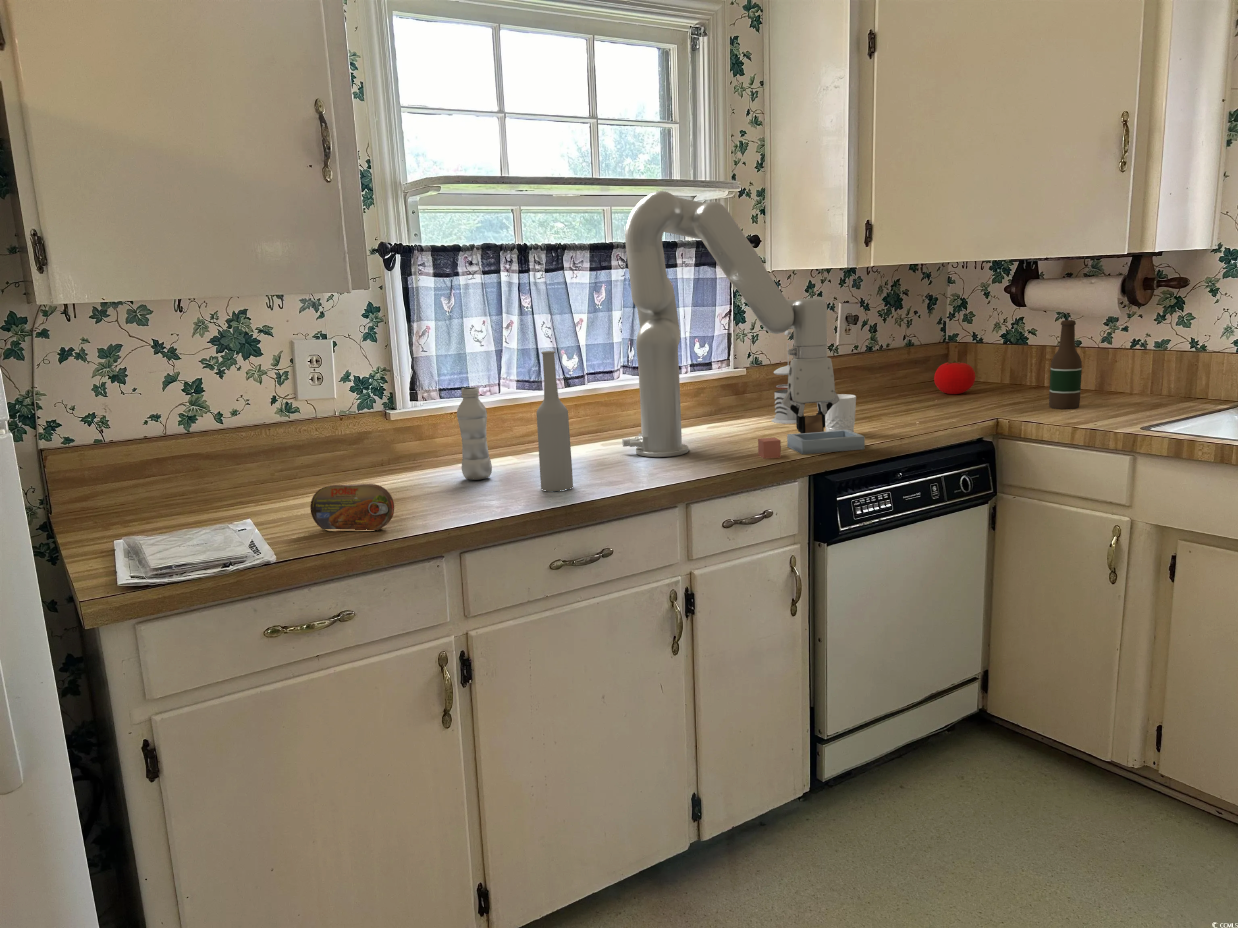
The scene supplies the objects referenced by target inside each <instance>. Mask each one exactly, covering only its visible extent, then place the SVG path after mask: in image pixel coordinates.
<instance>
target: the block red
mask: <svg viewBox="0 0 1238 928" xmlns="http://www.w3.org/2000/svg"><path fill="white" fill-rule="evenodd" d="M781 440H782V439H781ZM781 440H780V438H777V437H764V438H763V437H761V438H758V439H757V446H758V447H757V450H758V451H757V456H758V455H759V457H760V458H762V459H766V460H767V459H776V458H777V459H778V458H781V457H782V455H781V454H782V451H781V448H782V447H781V445H782V444H781V442H782V441H781Z"/></svg>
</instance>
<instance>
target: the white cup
mask: <svg viewBox="0 0 1238 928" xmlns="http://www.w3.org/2000/svg"><path fill="white" fill-rule="evenodd" d="M836 394H837V395H838V397H839V399H840V400H839V402H837V403H836V404H834V405H833V406H832V407H831V408H830V409H829V410H828V412H827V414H826V415H825V431H835V430H849V431H852V432H854V431H855V422H856V409H857V407H856V403H857V396H856V395H855V394H845V393H841V394H839V393H836ZM854 433H855V432H854Z"/></svg>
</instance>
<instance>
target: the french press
mask: <svg viewBox="0 0 1238 928" xmlns="http://www.w3.org/2000/svg"><path fill="white" fill-rule="evenodd" d="M783 335H785V336H792V335H793V334H792V331H791V330H787V331H785V332H784V334H783ZM788 349H789V344H787V350H788ZM789 356H790V355H788V354H787V365H785V366H781V367H779V368H777V369H775V370H774V371H773V374H774V375H777V376H779V375H780V376H787V377H788V376H789V369H790V363H789V361H790V359H789ZM775 388H776V389H778V390H776V391H774V400H775V401H774V418H772V419H771V423H776V424H787V425H788V424H796V415H795V414H794V412H792V411H791V410H790V409H789V408H787V407H786V406H784V405H782V401H783V399H784V397H785V395H786V394H787V392H788V383H787V384H778V385H776V386H775ZM790 403H791V404H793V405H795V404H796V403H795V402H793V401H790Z"/></svg>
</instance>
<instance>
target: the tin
mask: <svg viewBox="0 0 1238 928" xmlns="http://www.w3.org/2000/svg"><path fill="white" fill-rule="evenodd" d="M309 507H310V508H309V509H310V515H311V518H312V519H313V521H314V522H315V524H316V525H317V526H318V527H320V529H322V530H323V529H355V530H366V529H367V530H377V531H380V530H381V529H382V528H384V527H385V526H387V525H388V524H389V523H390V522H391V521H392V519H393V518H394V513H395V503H394V499H393V497H392V494H391V493H390V492H389V491H388V490H387V489H386V488H385V487H383V486H382V485H379V484H375V483H365V484H364V483H363V484H362V483H361V484H333V485H328V486H323V487H321V488H320V489H318V490H317V491H316V492H314V494H313V496H312V498H311V501H310V506H309Z"/></svg>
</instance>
